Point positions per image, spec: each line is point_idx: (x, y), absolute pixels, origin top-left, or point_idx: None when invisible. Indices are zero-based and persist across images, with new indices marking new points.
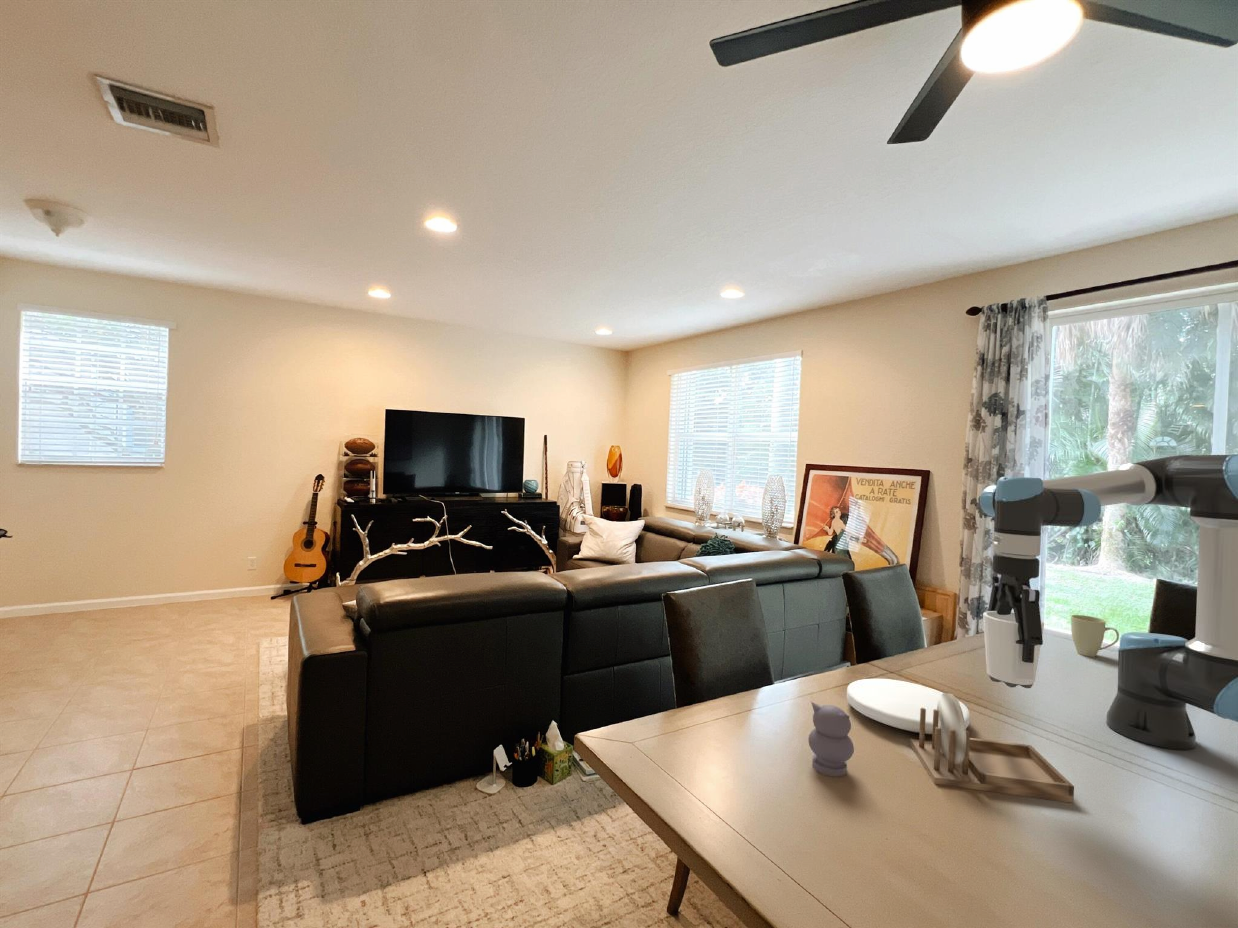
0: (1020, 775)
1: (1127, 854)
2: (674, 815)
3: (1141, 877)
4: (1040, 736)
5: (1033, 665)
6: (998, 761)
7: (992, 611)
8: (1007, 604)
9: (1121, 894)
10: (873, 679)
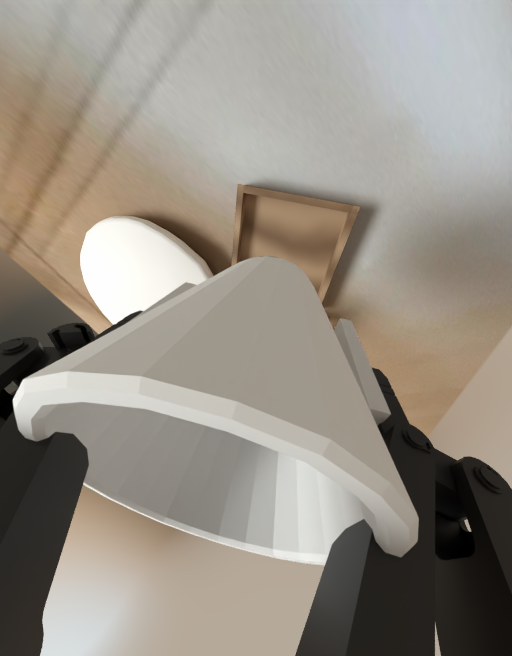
0: (301, 248)
1: (464, 223)
2: None
3: (500, 243)
4: (151, 87)
5: (362, 348)
6: (268, 254)
7: (93, 487)
8: (16, 587)
9: (502, 289)
10: (103, 309)
